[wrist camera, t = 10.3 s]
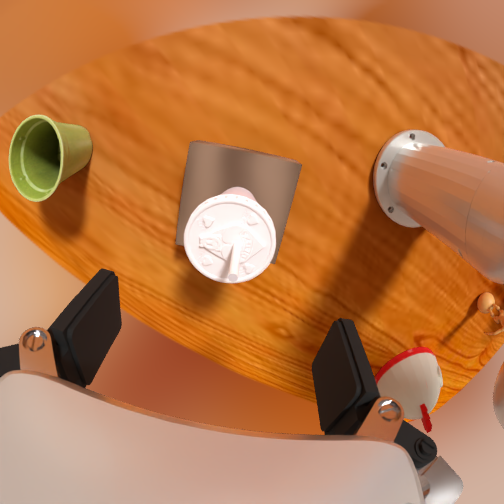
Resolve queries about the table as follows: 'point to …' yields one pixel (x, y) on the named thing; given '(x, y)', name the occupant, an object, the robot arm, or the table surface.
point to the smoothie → (230, 237)
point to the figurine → (490, 310)
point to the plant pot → (46, 155)
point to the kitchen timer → (412, 383)
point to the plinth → (238, 181)
